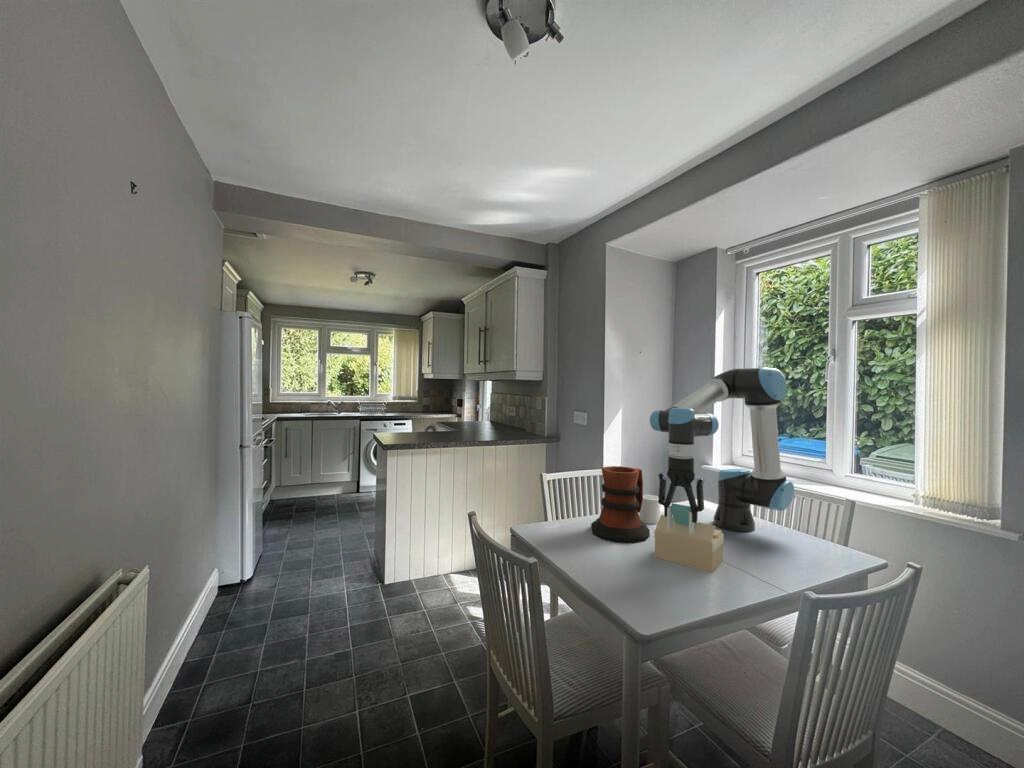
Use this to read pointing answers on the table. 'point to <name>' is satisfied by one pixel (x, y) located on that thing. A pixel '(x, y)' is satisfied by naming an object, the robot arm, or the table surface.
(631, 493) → the tankard
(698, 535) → the flap
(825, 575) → the table surface
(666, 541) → the carton
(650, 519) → the cup
